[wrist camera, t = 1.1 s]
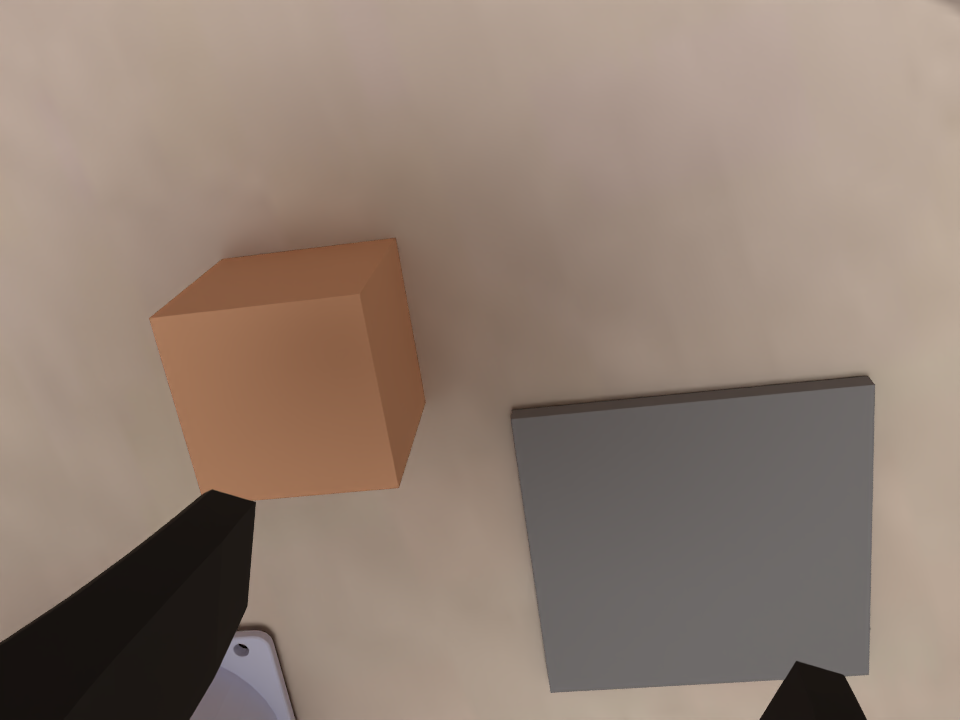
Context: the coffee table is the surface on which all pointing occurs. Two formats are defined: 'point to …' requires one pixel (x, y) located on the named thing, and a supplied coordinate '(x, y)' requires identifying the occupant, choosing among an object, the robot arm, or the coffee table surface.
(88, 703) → the robot arm
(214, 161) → the coffee table surface
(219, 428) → the cube
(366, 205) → the coffee table surface
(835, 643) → the mat
